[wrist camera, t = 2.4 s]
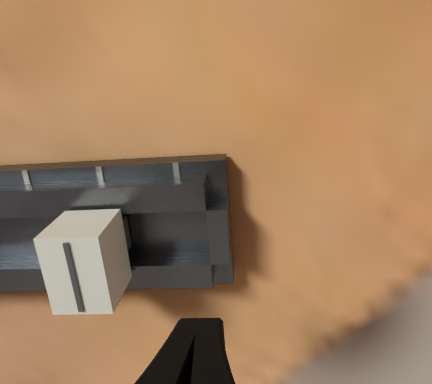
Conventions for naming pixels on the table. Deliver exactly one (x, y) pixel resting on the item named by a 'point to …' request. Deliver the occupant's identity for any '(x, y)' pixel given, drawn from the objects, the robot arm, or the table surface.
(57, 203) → the console
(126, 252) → the fader knob
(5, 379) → the table surface
